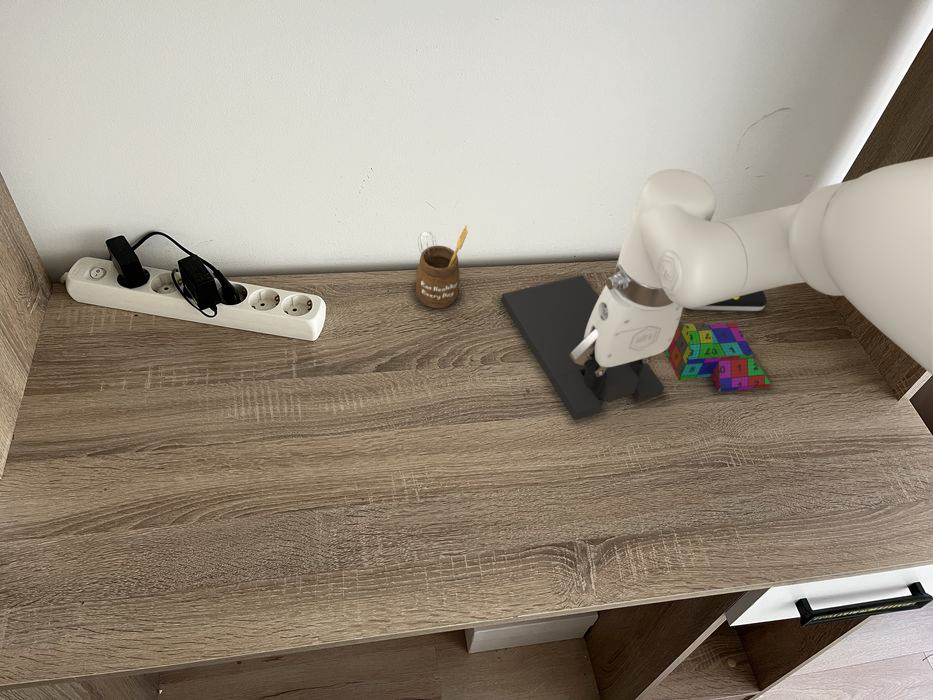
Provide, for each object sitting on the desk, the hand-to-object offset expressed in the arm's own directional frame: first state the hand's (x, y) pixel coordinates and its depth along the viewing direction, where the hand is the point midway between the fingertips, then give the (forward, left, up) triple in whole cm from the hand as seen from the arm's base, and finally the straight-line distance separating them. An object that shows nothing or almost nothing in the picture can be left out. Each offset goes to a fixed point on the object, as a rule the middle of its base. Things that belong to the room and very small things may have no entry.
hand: (609, 381), depth 96 cm
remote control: (-3, -27, -2) cm, 27 cm away
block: (-9, -14, -2) cm, 16 cm away
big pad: (+7, -4, -2) cm, 8 cm away
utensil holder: (+27, +2, -2) cm, 27 cm away
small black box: (0, 0, -1) cm, 1 cm away
